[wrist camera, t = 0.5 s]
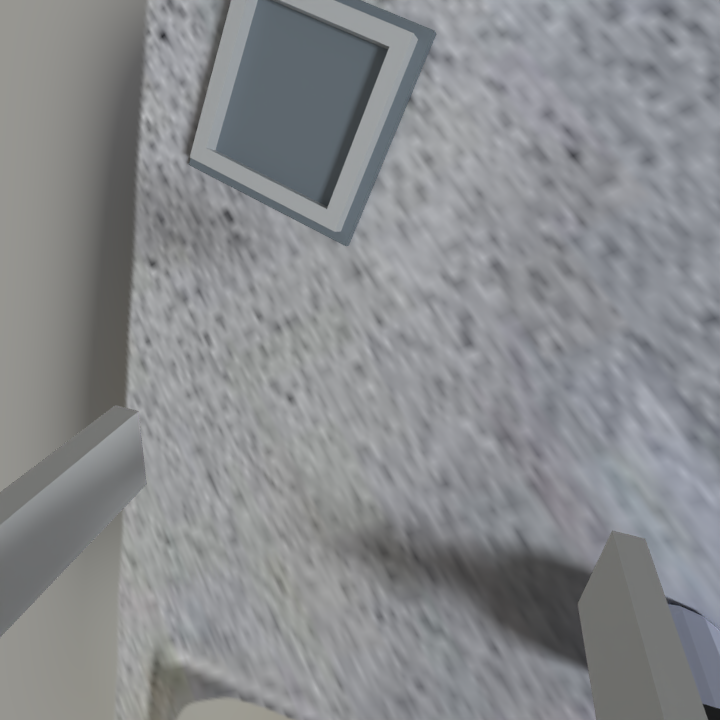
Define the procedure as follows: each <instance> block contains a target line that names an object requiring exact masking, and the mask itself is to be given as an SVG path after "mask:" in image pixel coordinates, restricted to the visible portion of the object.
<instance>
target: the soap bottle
mask: <svg viewBox="0 0 720 720" xmlns="http://www.w3.org/2000/svg"><path fill="white" fill-rule="evenodd" d="M668 606H669V609H670V612H671V615H672V618H673V620H674V623H675V626H676V629H677V632H678V635H679V638H680V641H681V643H682V646H683V649H684V652H685V655H686V658H687V661H688V664H689V666H690V669H691V672H692V675H693V678H694V681H695V684H696V687H697V689H698V692H699V695H700V698H701V701H702V704H705V705H709V706H712V707H715V708H719V709H720V630H719V629H717V628H716V627H715V626H714V625H713V624H711V623H710V622H709V621H708V620H707V619H705V618H704V617H703V616H701V615H699V614H697V613H695V612H692V611H690V610H688V609H686V608H683V607H681V606H677V605H671V604H668Z"/></svg>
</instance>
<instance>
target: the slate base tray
mask: <svg viewBox="0 0 720 720" xmlns="http://www.w3.org/2000/svg"><path fill="white" fill-rule="evenodd" d="M435 36H436V32H435V31H434V30H432V29H429V28H427V27H424V26H422V25H419V24H417V23H415V22H412V21H410V20H407V19H405V18H402V17H400V16H397V15H395V14H393V13H390V12H388V11H385V10H383V9H380V8H378V7H375V6H373V5H371V4H368V3H366V2H363V1H361V0H231V3H230V7H229V10H228V14H227V18H226V22H225V25H224V29H223V33H222V37H221V41H220V44H219V48H218V52H217V56H216V60H215V63H214V67H213V71H212V75H211V78H210V82H209V86H208V90H207V94H206V97H205V101H204V105H203V109H202V112H201V116H200V120H199V124H198V128H197V131H196V135H195V139H194V143H193V147H192V150H191V154H190V162H189V165H190V166H192V167H194V168H196V169H198V170H200V171H202V172H204V173H206V174H208V175H210V176H212V177H214V178H216V179H217V180H219V181H221V182H223V183H225V184H227V185H229V186H231V187H233V188H235V189H237V190H239V191H241V192H243V193H245V194H246V195H248V196H250V197H252V198H254V199H256V200H258V201H260V202H262V203H264V204H266V205H268V206H270V207H272V208H273V209H275V210H277V211H279V212H281V213H283V214H285V215H287V216H289V217H291V218H293V219H295V220H297V221H299V222H301V223H302V224H304V225H306V226H308V227H310V228H312V229H314V230H316V231H318V232H320V233H322V234H324V235H326V236H328V237H329V238H331V239H333V240H335V241H337V242H339V243H341V244H343V245H345V246H349V244H350V241H351V239H352V236H353V234H354V231H355V229H356V227H357V224H358V222H359V219H360V217H361V215H362V212H363V210H364V207H365V205H366V202H367V200H368V198H369V195H370V193H371V190H372V188H373V186H374V183H375V181H376V178H377V176H378V173H379V171H380V169H381V166H382V164H383V161H384V159H385V157H386V154H387V152H388V149H389V147H390V144H391V142H392V140H393V137H394V135H395V132H396V130H397V128H398V125H399V123H400V120H401V118H402V115H403V113H404V111H405V108H406V106H407V103H408V101H409V98H410V96H411V94H412V91H413V89H414V86H415V84H416V82H417V79H418V77H419V74H420V72H421V69H422V67H423V65H424V62H425V60H426V57H427V55H428V53H429V50H430V48H431V45H432V43H433V40H434V38H435Z"/></svg>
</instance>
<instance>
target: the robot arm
mask: <svg viewBox="0 0 720 720" xmlns="http://www.w3.org/2000/svg"><path fill="white" fill-rule="evenodd" d="M146 484H147V483H146V474H145V465H144V456H143V447H142V438H141V429H140V420H139V411H136V410H132V409H128V408H124V407H120V406H114V407H112V408H111V409H110V410H108V411H107V412H106V413H105V414H103V415H102V416H100V417H99V418H98V419H96V420H95V421H94V422H93V423H91V424H90V425H89V426H87V427H86V428H85V429H83V430H82V431H81V432H79V433H78V434H77V435H75V436H74V437H73V438H71V439H70V440H69V441H67V442H66V443H65V444H64V445H62V446H61V447H59V448H58V449H57V450H55V451H54V452H53V453H52V454H50V455H49V456H47V457H46V458H45V459H43V460H42V461H41V462H40V463H38V464H37V465H36V466H34V467H33V468H32V469H30V470H29V471H28V472H26V473H25V474H24V475H22V476H21V477H20V478H18V479H17V480H16V481H14V482H13V483H12V484H11V485H9V486H8V487H7V488H5V489H4V490H3V491H1V492H0V637H1V636H2V635H3V634H4V633H5V632H6V631H7V630H8V629H9V628H10V627H11V626H12V624H14V622H15V621H16V620H17V619H18V618H19V617H20V616H21V615H22V614H23V613H24V612H25V611H26V610H27V609H28V608H29V607H30V606H31V605H32V604H33V603H34V602H35V600H36V599H37V598H38V597H39V596H40V595H41V594H42V593H43V592H44V591H45V590H46V589H47V588H48V587H49V586H50V585H51V584H52V583H53V581H55V579H56V578H57V577H58V576H59V575H60V574H61V573H62V572H63V571H64V570H65V569H66V568H67V567H68V566H69V565H70V564H71V563H72V562H73V561H74V560H75V559H76V557H77V556H78V555H79V554H80V553H81V552H82V551H83V550H84V549H85V548H86V547H87V546H88V545H89V544H90V543H91V541H93V540H94V538H96V536H97V535H98V534H99V533H100V532H101V531H102V530H103V529H104V528H105V527H106V526H107V525H108V524H109V523H110V522H111V520H113V519H114V518H115V517H116V516H117V514H118V513H119V512H120V511H121V510H122V509H123V508H124V507H125V506H126V505H127V504H128V503H129V502H130V501H131V500H132V499H133V498H134V497H135V496H136V495H137V494H138V492H139V491H140V490H141V489H142V488H143V487H144V486H145V485H146ZM578 610H579V616H580V622H581V628H582V634H583V640H584V647H585V653H586V659H587V665H588V671H589V677H590V683H591V689H592V696H593V702H594V708H595V714H596V720H720V709H719V708H715V707H712V706H709V705H705V704H702V701H701V698H700V695H699V692H698V689H697V687H696V684H695V681H694V678H693V675H692V672H691V669H690V666H689V664H688V661H687V658H686V655H685V652H684V649H683V646H682V643H681V641H680V638H679V635H678V632H677V629H676V626H675V623H674V620H673V618H672V615H671V612H670V609H669V606H668V603H667V600H666V597H665V595H664V592H663V589H662V586H661V583H660V580H659V577H658V574H657V572H656V569H655V566H654V563H653V560H652V557H651V554H650V551H649V549H648V546H647V543H646V540H645V539H644V538H640V537H636V536H632V535H628V534H624V533H620V532H616V531H612V532H611V535H610V537H609V539H608V541H607V543H606V545H605V547H604V549H603V551H602V553H601V556H600V558H599V560H598V562H597V564H596V566H595V568H594V570H593V572H592V574H591V577H590V579H589V581H588V583H587V585H586V587H585V589H584V591H583V593H582V596H581V598H580V600H579V602H578Z"/></svg>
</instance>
